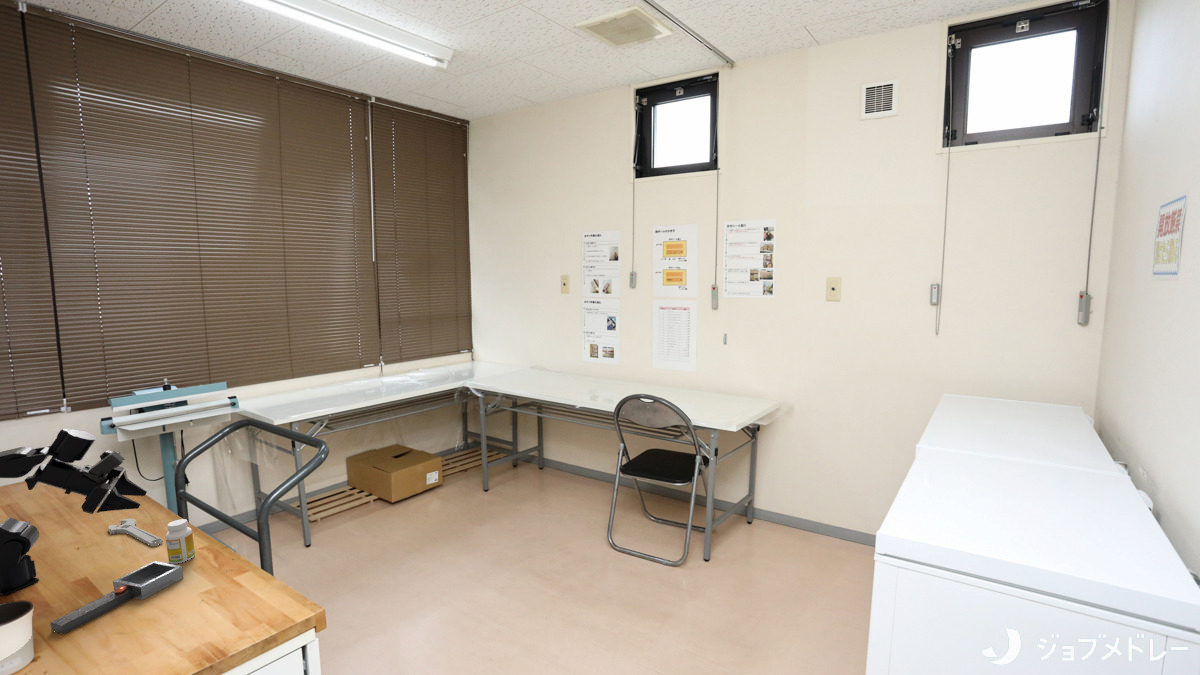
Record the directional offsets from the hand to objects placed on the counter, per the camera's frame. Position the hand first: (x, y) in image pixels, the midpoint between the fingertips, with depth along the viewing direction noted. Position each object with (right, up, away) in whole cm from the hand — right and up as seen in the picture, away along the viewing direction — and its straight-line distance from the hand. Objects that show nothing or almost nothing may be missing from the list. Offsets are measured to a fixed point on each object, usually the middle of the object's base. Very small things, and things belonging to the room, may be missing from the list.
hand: (142, 499), depth 142 cm
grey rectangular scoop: (+9, -17, -18) cm, 27 cm away
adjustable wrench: (-13, -14, +13) cm, 23 cm away
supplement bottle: (+10, -15, 0) cm, 18 cm away
